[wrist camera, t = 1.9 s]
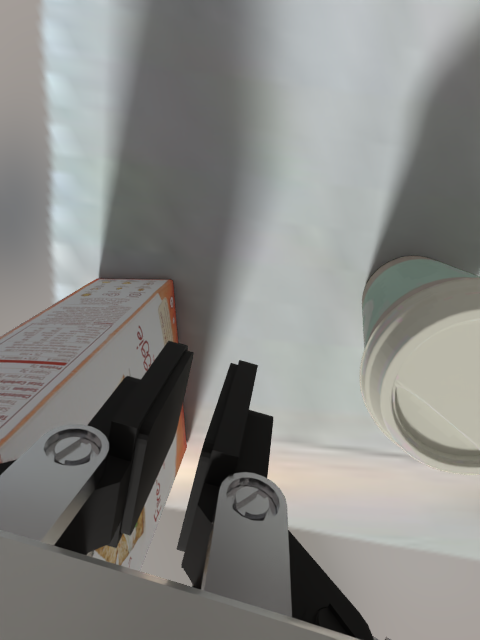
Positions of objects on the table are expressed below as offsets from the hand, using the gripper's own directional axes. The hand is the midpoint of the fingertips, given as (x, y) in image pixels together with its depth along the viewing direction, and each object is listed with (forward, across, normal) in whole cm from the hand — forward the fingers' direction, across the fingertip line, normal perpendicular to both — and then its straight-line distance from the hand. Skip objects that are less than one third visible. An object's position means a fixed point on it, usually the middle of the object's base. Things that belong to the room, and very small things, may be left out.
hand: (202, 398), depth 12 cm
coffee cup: (+17, -10, 0) cm, 20 cm away
